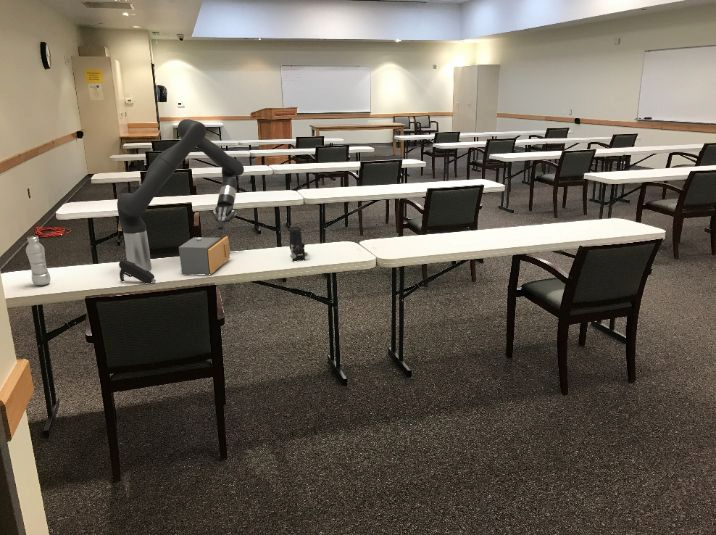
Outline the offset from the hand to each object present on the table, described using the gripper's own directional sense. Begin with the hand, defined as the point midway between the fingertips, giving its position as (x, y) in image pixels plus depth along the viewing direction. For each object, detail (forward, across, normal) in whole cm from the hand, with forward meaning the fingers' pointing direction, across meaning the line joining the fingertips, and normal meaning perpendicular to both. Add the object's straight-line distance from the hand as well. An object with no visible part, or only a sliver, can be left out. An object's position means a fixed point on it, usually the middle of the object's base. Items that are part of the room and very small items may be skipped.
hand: (220, 229), depth 257 cm
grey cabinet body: (+23, -2, -5) cm, 24 cm away
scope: (+10, +36, +8) cm, 38 cm away
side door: (+20, +5, -4) cm, 22 cm away
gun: (+37, -22, -18) cm, 46 cm away
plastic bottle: (+41, -60, -22) cm, 75 cm away
